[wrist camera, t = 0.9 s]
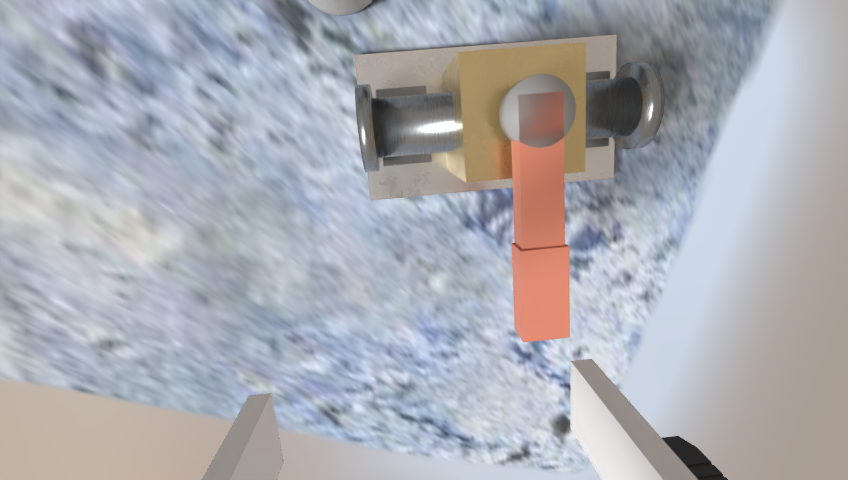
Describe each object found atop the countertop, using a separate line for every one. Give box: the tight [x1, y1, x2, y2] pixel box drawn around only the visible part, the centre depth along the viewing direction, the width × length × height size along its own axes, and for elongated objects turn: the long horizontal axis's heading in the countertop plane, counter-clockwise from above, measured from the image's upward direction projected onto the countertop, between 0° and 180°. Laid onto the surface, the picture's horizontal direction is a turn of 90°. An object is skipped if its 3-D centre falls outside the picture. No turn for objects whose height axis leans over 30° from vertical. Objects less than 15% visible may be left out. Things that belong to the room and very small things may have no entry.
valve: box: [354, 35, 664, 200], centre depth 32 cm, size 12×22×12 cm, turn 95°
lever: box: [499, 74, 576, 342], centre depth 27 cm, size 16×4×2 cm, turn 5°
